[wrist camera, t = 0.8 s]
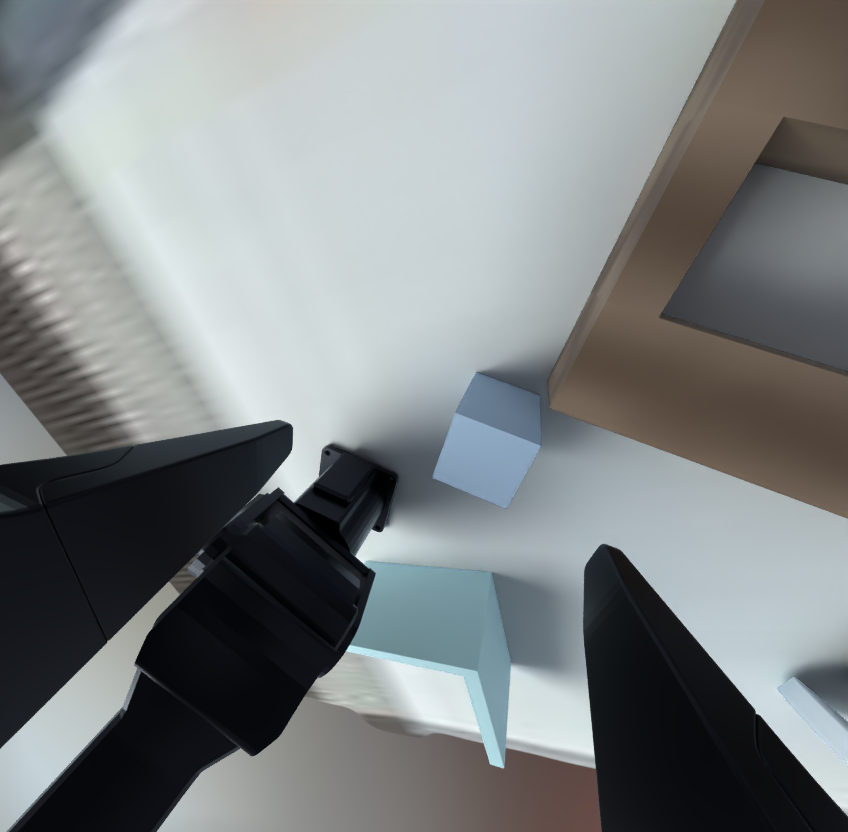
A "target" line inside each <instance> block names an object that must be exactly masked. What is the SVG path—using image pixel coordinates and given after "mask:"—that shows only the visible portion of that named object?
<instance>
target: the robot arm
mask: <svg viewBox="0 0 848 832" xmlns="http://www.w3.org/2000/svg"><path fill="white" fill-rule="evenodd" d="M292 444H293V427H292V425H291V424H289V423H287V422H284V421H281V420H275V421H269V422H263V423H258V424H252V425H246V426H241V427H235V428H229V429H224V430H218V431H212V432H206V433H201V434H195V435H189V436H184V437H178V438H172V439H167V440H161V441H155V442H150V443H144V444H138V445H135V446H126V447H121V448H115V449H109V450H103V451H97V452H91V453H85V454H78V455H70V456H63V457H56V458H49V459H41V460H34V461H26V462H18V463H11V464H3V465H0V748H1V747H2V746H3V745H4V744H5V743H6V742H7V741H8V740H9V739H10V738H12V736H14V735H15V733H17V731H19V730H20V729H21V728H22V727H23V726H24V725H25V724H26V723H27V722H28V721H29V720H30V719H31V718H32V717H33V716H34V715H35V714H36V713H37V712H38V711H39V710H40V709H41V708H42V707H43V706H44V705H45V704H46V703H47V702H48V701H49V700H50V699H51V698H52V697H53V696H54V695H55V694H56V693H57V692H58V691H59V690H60V689H61V688H62V687H63V686H64V685H65V684H66V683H67V682H68V681H69V680H70V679H71V678H72V677H73V676H74V675H75V674H76V673H77V672H78V671H79V670H80V669H81V668H82V667H83V666H84V665H85V664H86V663H87V662H88V661H89V660H90V659H91V658H92V657H93V656H94V655H95V654H96V653H97V652H98V651H99V650H100V649H101V648H102V647H103V646H104V645H105V644H106V643H107V641H108V640H110V639H111V638H112V637H113V636H114V635H115V634H116V633H117V632H118V631H119V630H120V629H121V628H122V627H123V626H124V625H125V624H126V623H127V622H128V621H129V620H130V619H131V618H132V617H133V616H134V615H135V614H136V613H137V612H138V611H139V610H140V609H141V608H142V607H143V606H144V605H145V604H146V603H147V602H148V601H149V600H150V599H151V598H152V597H153V596H154V595H155V594H156V593H157V592H158V591H159V590H160V589H161V588H163V587H164V586H165V585H166V583H167V582H169V581H170V580H171V579H172V578H173V577H174V576H175V575H176V574H177V573H178V572H179V571H180V570H181V569H182V568H183V567H184V566H185V565H186V564H187V563H188V562H189V561H190V560H191V559H192V558H193V557H194V556H195V555H196V554H197V553H198V552H199V551H200V550H201V549H202V548H203V549H202V550H201V551H200V552H199V553H198V555H197V557H198V558H197V559H196V560H195V561H194V562H193V563H192V564H191V566H190V567H189V568H188V570H187V571H188V572H189V573H190V574H192V575H193V576H194V577H196V579H195V580H194V581H193V582H192V583H191V584H190V585H189V586H188V587H187V588H186V589H185V590H184V592H183V593H182V594H181V595H180V596H179V597H178V598H177V599H176V600H175V601H174V602H173V603H172V604H171V605H170V606H169V607H168V608H167V609H166V610H165V611H164V612H163V613H162V614H161V615H160V616H159V617H158V618H157V620H156V621H155V623H154V626H153V628H152V630H151V631H150V632H149V633H148V635H147V636H146V639H145V641H144V643H143V645H142V647H141V650H140V652H139V654H138V656H137V659H136V661H135V666H136V667H137V671H136V673H135V676H134V679H133V681H132V684H131V687H130V689H129V692H128V695H127V697H126V700H125V702H124V705H123V707H122V708H121V709H120V710H119V711H118V712H117V713H116V715H115V716H114V717H113V718H112V719H111V720H110V721H109V722H108V723H107V724H106V725H105V726H104V727H103V729H102V730H101V731H100V732H99V733H98V734H97V735H96V736H95V737H94V738H93V739H92V740H91V742H89V744H88V745H87V746H86V747H85V748H84V749H83V750H82V751H81V752H80V753H79V754H78V755H77V756H76V758H75V759H74V760H73V761H72V762H71V763H70V764H69V765H68V766H67V767H66V768H65V769H64V770H63V772H62V773H61V774H60V775H59V776H58V777H57V778H56V779H55V780H54V781H53V782H52V783H51V784H50V785H49V787H48V788H47V789H46V790H45V791H44V792H43V793H42V794H41V795H40V796H39V797H38V799H36V801H35V802H34V803H33V804H32V805H31V806H30V807H29V808H28V809H27V810H26V811H25V812H24V813H23V815H22V816H21V817H20V818H19V819H18V820H17V821H16V822H15V823H14V824H13V825H12V826H11V827H10V829H9V830H8V831H7V832H157V830H158V829H159V828H160V826H161V825H162V823H163V822H164V821H165V819H166V818H167V817H168V815H169V814H170V813H171V811H172V810H173V809H174V807H175V806H176V805H177V803H178V802H179V801H180V799H181V798H182V796H183V795H184V794H185V792H186V791H187V790H188V788H189V787H190V786H191V785H192V783H193V782H194V781H195V779H196V778H197V777H198V776H199V774H200V773H201V772H202V771H204V770H205V769H207V768H208V767H210V766H212V765H213V764H215V763H217V762H218V761H220V760H222V759H223V758H225V757H227V756H228V755H230V754H232V753H234V752H235V751H237V750H238V749H240V748H241V749H243V750H244V751H245V752H247V753H248V754H249V755H250V756H255V755H257V754H258V753H260V752H261V751H262V750H263V749H264V748H266V747H267V746H268V745H270V744H271V743H272V742H273V741H275V740H276V739H277V738H278V737H279V736H280V735H281V733H282V732H283V730H284V729H285V727H286V725H287V724H288V722H289V720H290V719H291V717H292V715H293V714H294V712H295V711H296V709H297V707H298V706H299V704H300V702H301V701H302V699H303V697H304V696H305V695H306V693H307V691H308V690H309V689H310V687H311V686H312V684H313V683H314V682H315V680H316V679H317V678H321V677H322V676H324V675H326V674H327V673H328V672H329V671H330V670H331V669H332V668H333V667H334V666H335V665H336V664H337V662H338V661H339V660H340V659H341V657H342V656H343V655H344V653H345V652H346V650H347V649H348V647H349V645H350V644H351V642H352V640H353V638H354V637H355V635H356V632H357V630H358V628H359V625H360V623H361V620H362V617H363V613H364V610H365V607H366V604H367V601H368V597H369V594H370V591H371V588H372V585H373V582H374V578H375V575H376V572H374V571H373V570H372V569H371V568H368V567H367V566H365V565H364V564H363V563H362V562H361V561H360V560H359V559H357V558H356V557H355V555H356V554H357V552H358V550H359V549H360V547H361V546H362V544H363V542H364V541H365V539H366V537H367V536H368V534H369V532H370V531H371V529H372V530H374V531H377V532H382V531H383V529H384V527H385V524H386V521H387V518H388V514H389V511H390V507H391V504H392V500H393V497H394V493H395V490H396V486H397V483H398V476H397V474H395V473H394V472H391V471H389V470H387V469H384V468H382V467H380V466H377V465H375V464H373V463H370V462H368V461H366V460H363V459H361V458H359V457H356V456H354V455H352V454H349V453H347V452H345V451H342V450H340V449H338V448H335V447H333V446H330V445H327V446H325V447H324V448H323V449H322V455H321V463H320V471H319V478H318V479H317V480H316V481H315V482H314V483H313V484H312V485H311V486H310V487H309V488H308V489H307V490H306V491H305V492H304V493H303V494H302V495H301V496H300V497H299V498H298V499H297V500H296V501H295V502H294V503H293V502H292V501H291V500H290V499H289V498H288V497H287V496H286V495H284V492H283V491H282V490H281V489H280V488H279V487H278V488H277V489H276V490H274V491H273V492H272V493H271V494H268V493H266V494H265V495H263V494H259V495H257V496H256V497H255V498H254V499H253V500H252V501H250V500H251V499H252V498H253V497H254V496H255V495H256V494H257V493H258V492H259V491H260V490H261V488H262V487H263V486H264V485H265V484H266V482H267V481H268V480H269V479H270V478H271V476H272V475H273V474H274V473H275V471H276V470H277V469H278V468H279V467H280V465H281V464H282V463H283V462H284V461H285V459H286V458H287V457H288V456H289V454H290V453H291V450H292ZM328 451H329V452H330V453H329V452H328ZM390 478H392V479H393V480H391V479H390ZM249 501H250V502H249ZM248 502H249V503H248ZM247 503H248V504H247ZM246 504H247V505H246ZM245 505H246V506H245ZM583 633H584V646H585V657H586V668H587V678H588V689H589V700H590V711H591V721H592V732H593V743H594V754H595V764H596V775H597V786H598V796H599V807H600V818H601V827H602V832H848V816H847V815H846V814H845V813H844V812H843V811H842V810H841V808H840V807H839V806H838V805H837V804H836V803H835V802H834V801H833V800H832V798H831V797H830V796H829V795H828V794H827V793H826V792H825V791H824V789H823V788H822V787H821V786H820V785H819V784H818V783H817V782H816V781H815V779H814V778H813V777H812V776H811V775H810V774H809V772H808V771H807V770H806V769H805V768H804V767H803V765H802V764H801V763H800V762H799V761H798V760H797V758H796V757H795V756H794V755H793V754H792V753H791V751H790V750H789V749H788V748H787V747H786V746H785V745H784V743H783V742H782V741H781V740H780V739H779V737H778V736H777V735H776V734H775V733H774V732H773V730H772V729H771V728H770V727H769V726H768V724H767V723H766V722H765V721H764V720H763V718H762V717H761V716H760V715H758V714H756V711H755V709H754V708H753V707H752V705H751V704H750V703H749V702H748V701H747V700H746V698H745V697H744V696H743V695H742V694H741V692H740V691H739V690H738V689H737V688H736V686H735V685H734V684H733V683H732V682H731V681H730V679H729V678H728V677H727V676H726V675H725V673H724V672H723V671H722V670H721V669H720V667H719V666H718V665H717V664H716V663H715V662H714V660H713V659H712V658H711V657H710V656H709V654H708V653H707V652H706V651H705V650H704V649H703V647H702V646H701V645H700V644H699V643H698V641H697V640H696V639H695V638H694V637H693V635H692V634H691V633H690V632H689V631H688V630H687V628H686V627H685V626H684V625H683V624H682V622H681V621H680V620H679V619H678V618H677V616H676V615H675V614H674V613H673V612H672V611H671V609H670V608H669V607H668V606H667V605H666V603H665V602H664V601H663V600H662V599H661V597H660V596H659V595H658V594H657V593H656V592H655V590H654V589H653V588H652V587H651V586H650V584H649V583H648V582H647V581H646V580H645V578H644V577H643V576H642V575H641V574H640V573H639V571H638V570H637V569H636V568H635V567H634V565H633V564H632V563H631V562H630V561H629V559H628V558H627V557H626V556H625V555H624V554H623V552H622V551H621V550H619V549H617V548H615V547H612V546H609V545H607V544H602V545H600V546H599V547H598V549H597V550H596V551H595V553H594V554H593V555H592V557H591V558H590V560H589V561H588V562H587V564H586V566H585V570H584V611H583Z"/></svg>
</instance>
